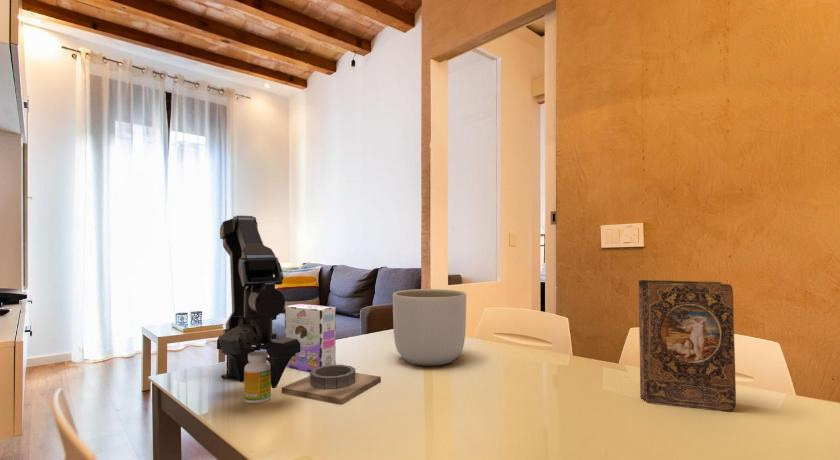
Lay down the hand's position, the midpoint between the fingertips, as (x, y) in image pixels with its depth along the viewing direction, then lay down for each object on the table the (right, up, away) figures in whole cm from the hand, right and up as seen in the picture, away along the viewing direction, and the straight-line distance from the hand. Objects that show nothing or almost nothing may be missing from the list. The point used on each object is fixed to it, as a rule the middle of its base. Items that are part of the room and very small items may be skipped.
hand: (257, 384), depth 92 cm
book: (+89, -3, -2) cm, 90 cm away
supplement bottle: (0, -3, 0) cm, 3 cm away
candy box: (+5, -4, +23) cm, 24 cm away
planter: (+37, -4, +30) cm, 48 cm away
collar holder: (+15, -3, +7) cm, 17 cm away
